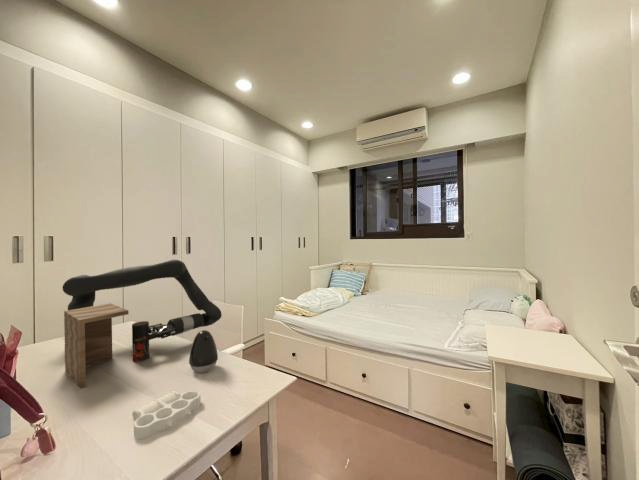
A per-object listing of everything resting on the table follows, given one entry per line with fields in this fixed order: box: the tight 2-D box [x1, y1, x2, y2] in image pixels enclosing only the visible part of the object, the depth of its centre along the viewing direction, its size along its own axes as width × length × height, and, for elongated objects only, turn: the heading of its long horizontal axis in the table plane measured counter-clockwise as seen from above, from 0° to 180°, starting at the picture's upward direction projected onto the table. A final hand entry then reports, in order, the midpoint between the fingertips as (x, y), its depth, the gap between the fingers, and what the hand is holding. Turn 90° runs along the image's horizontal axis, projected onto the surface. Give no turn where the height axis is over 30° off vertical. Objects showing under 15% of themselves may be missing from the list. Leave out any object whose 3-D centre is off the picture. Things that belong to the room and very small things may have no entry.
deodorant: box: [131, 320, 150, 363], centre depth 113 cm, size 6×6×15 cm
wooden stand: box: [63, 302, 129, 389], centre depth 103 cm, size 20×14×24 cm
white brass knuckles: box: [131, 390, 201, 440], centre depth 77 cm, size 3×18×15 cm
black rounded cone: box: [188, 329, 219, 374], centre depth 103 cm, size 10×10×15 cm
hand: (142, 335), depth 114 cm, fingers open, 8 cm apart
